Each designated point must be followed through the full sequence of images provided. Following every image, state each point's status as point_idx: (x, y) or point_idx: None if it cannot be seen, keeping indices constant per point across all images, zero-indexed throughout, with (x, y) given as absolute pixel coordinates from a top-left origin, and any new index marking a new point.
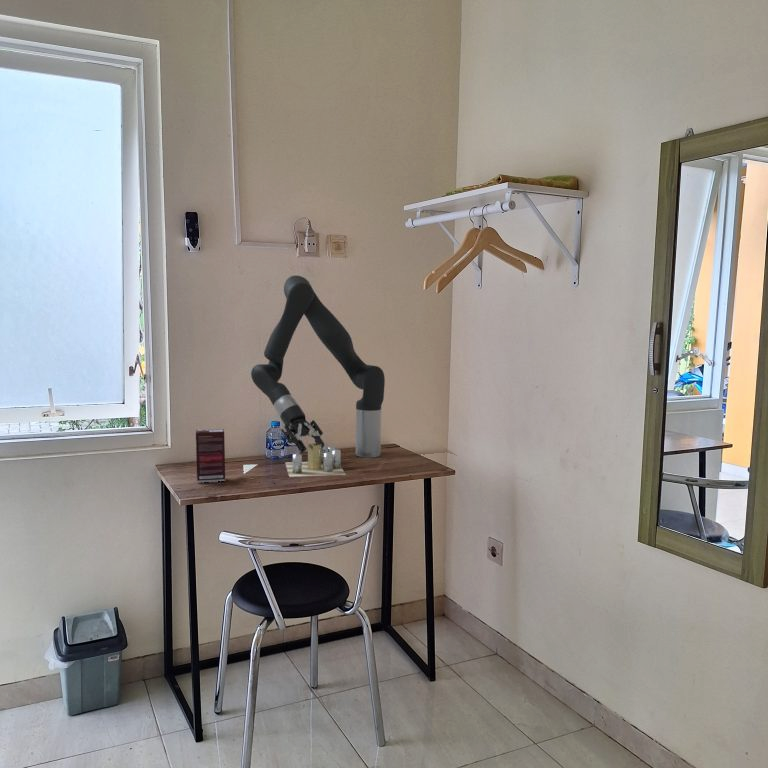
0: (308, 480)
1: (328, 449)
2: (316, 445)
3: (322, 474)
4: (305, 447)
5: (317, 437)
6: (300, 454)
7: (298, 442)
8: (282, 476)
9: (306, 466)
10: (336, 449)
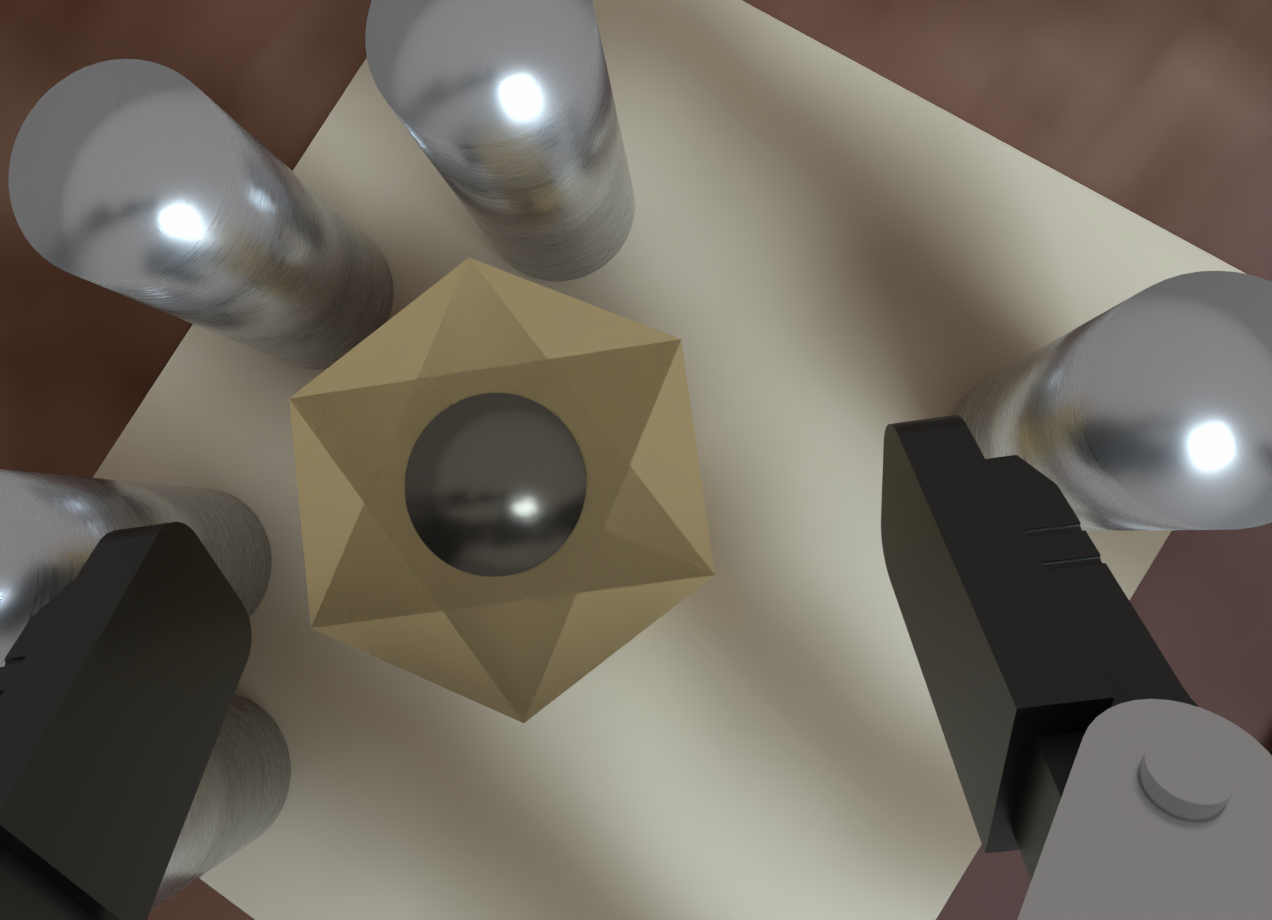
0: (1040, 107)
1: (67, 549)
2: (545, 327)
3: (767, 88)
4: (917, 439)
5: (19, 835)
6: (1159, 322)
7: (1147, 666)
8: (1232, 577)
9: (614, 719)
10: (39, 244)
